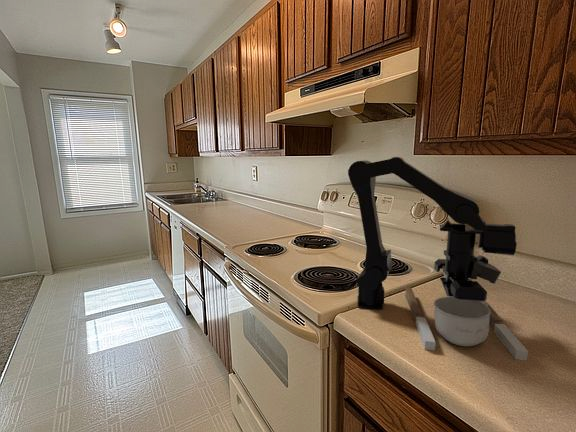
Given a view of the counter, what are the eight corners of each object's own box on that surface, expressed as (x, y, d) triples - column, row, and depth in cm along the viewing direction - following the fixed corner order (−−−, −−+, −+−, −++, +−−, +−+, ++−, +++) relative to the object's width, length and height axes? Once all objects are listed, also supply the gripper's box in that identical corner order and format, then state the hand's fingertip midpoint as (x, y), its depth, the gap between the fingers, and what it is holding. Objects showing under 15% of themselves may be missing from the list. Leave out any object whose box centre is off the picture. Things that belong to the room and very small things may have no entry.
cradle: (414, 322, 75) (415, 312, 75) (405, 295, 90) (405, 287, 89) (501, 329, 71) (502, 320, 71) (476, 300, 86) (477, 292, 85)
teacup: (457, 357, 62) (461, 321, 61) (421, 328, 72) (423, 297, 71) (510, 345, 66) (515, 311, 64) (469, 319, 76) (472, 289, 74)
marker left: (424, 349, 65) (425, 341, 64) (415, 324, 74) (416, 316, 74) (434, 350, 64) (435, 342, 64) (424, 325, 74) (425, 317, 74)
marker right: (515, 359, 61) (516, 350, 61) (493, 331, 71) (494, 323, 70) (526, 360, 61) (528, 351, 60) (503, 332, 70) (504, 324, 70)
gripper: (519, 265, 62) (509, 334, 65) (481, 239, 80) (475, 295, 83) (459, 262, 64) (452, 329, 67) (435, 238, 82) (431, 292, 85)
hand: (454, 309), depth 76 cm, fingers closed
